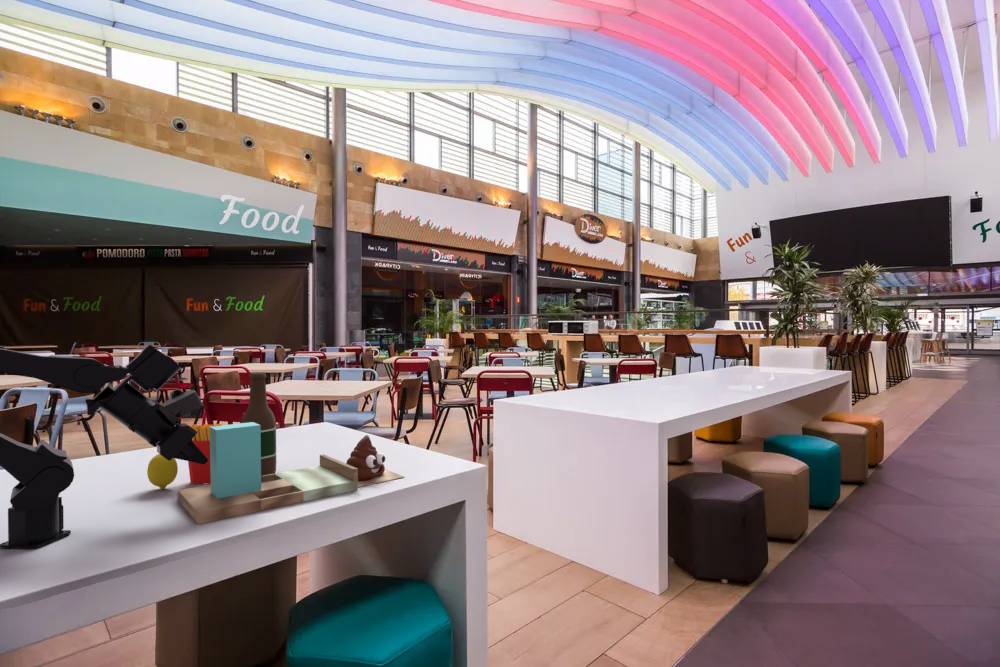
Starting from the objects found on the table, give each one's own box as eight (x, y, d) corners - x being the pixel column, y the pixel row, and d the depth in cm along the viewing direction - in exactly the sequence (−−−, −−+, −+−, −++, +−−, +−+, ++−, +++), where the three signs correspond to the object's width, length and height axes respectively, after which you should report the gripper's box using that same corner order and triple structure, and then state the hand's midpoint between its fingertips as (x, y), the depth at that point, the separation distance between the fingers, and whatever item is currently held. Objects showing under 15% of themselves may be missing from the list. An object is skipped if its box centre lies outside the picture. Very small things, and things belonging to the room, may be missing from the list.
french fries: (231, 478, 123) (231, 422, 123) (222, 483, 119) (221, 425, 119) (192, 479, 123) (191, 422, 123) (180, 484, 119) (180, 425, 119)
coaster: (351, 488, 114) (351, 487, 114) (326, 476, 124) (326, 475, 124) (404, 477, 123) (404, 476, 123) (377, 466, 132) (377, 466, 132)
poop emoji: (365, 469, 130) (364, 430, 130) (393, 473, 126) (393, 433, 126) (335, 479, 121) (334, 438, 121) (364, 484, 117) (364, 441, 117)
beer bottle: (264, 479, 122) (263, 374, 122) (233, 478, 123) (232, 374, 123) (283, 470, 130) (282, 371, 130) (254, 470, 131) (252, 371, 131)
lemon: (163, 493, 112) (162, 455, 112) (141, 492, 114) (140, 454, 114) (183, 485, 118) (183, 449, 118) (162, 484, 119) (161, 448, 119)
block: (217, 498, 102) (216, 430, 102) (210, 492, 106) (209, 426, 105) (261, 490, 107) (260, 425, 107) (253, 484, 111) (253, 422, 111)
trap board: (197, 523, 94) (197, 498, 94) (178, 500, 108) (178, 477, 108) (357, 489, 113) (357, 468, 113) (324, 473, 127) (323, 454, 127)
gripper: (182, 379, 92) (251, 435, 99) (163, 374, 106) (225, 422, 114) (127, 431, 87) (204, 486, 94) (115, 418, 101) (183, 466, 108)
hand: (206, 462), depth 103 cm, fingers closed
